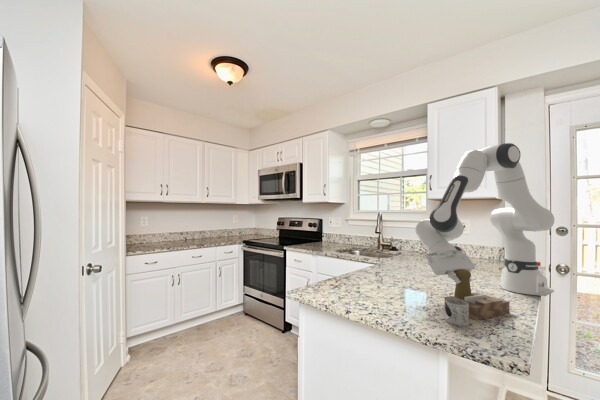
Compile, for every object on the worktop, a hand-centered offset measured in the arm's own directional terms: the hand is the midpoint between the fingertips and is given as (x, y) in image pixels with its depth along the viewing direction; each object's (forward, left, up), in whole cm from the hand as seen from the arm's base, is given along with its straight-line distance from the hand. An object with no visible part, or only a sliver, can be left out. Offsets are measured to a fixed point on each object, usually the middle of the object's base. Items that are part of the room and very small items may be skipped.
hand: (464, 282), depth 103 cm
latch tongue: (0, +4, -9) cm, 9 cm away
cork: (0, -1, -6) cm, 6 cm away
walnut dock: (0, +4, -9) cm, 10 cm away
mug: (+18, +10, -9) cm, 23 cm away
